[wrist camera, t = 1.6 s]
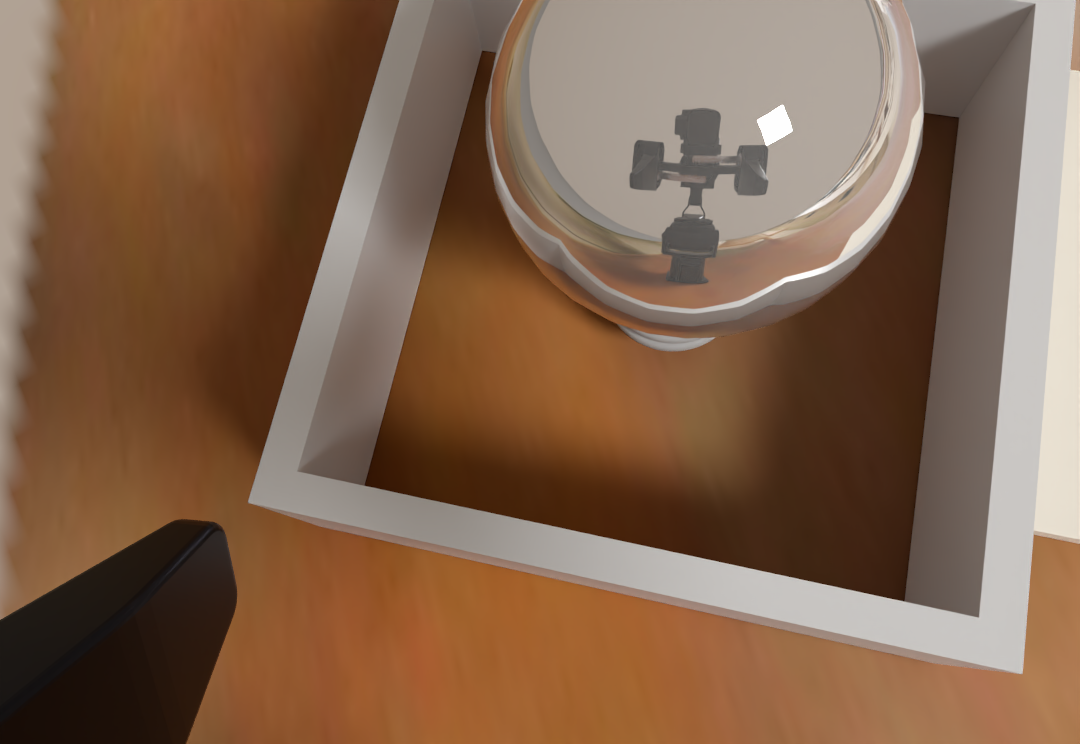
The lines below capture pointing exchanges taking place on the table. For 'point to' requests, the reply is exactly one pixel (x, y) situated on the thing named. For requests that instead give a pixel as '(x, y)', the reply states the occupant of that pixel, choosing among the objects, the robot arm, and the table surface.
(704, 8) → the light bulb
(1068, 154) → the cream board
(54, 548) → the table surface
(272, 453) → the grey box
